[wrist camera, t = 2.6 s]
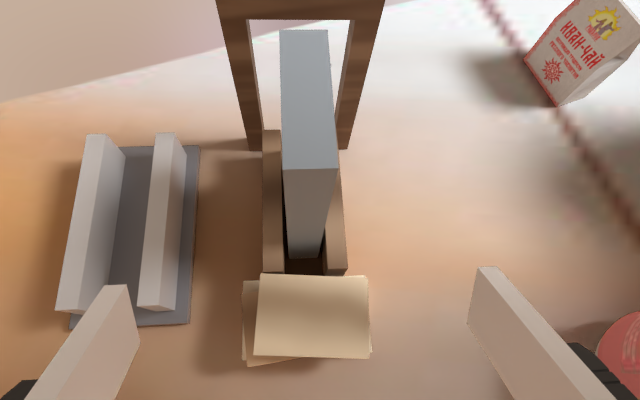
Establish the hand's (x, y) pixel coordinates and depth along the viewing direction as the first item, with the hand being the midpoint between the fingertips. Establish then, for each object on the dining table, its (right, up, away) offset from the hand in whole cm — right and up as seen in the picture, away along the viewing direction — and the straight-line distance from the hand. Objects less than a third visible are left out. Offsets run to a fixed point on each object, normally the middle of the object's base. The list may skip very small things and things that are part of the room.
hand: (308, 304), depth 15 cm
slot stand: (-15, +1, +19) cm, 24 cm away
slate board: (-1, +3, +21) cm, 21 cm away
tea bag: (+26, +17, +28) cm, 42 cm away
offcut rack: (-1, +1, +20) cm, 20 cm away
